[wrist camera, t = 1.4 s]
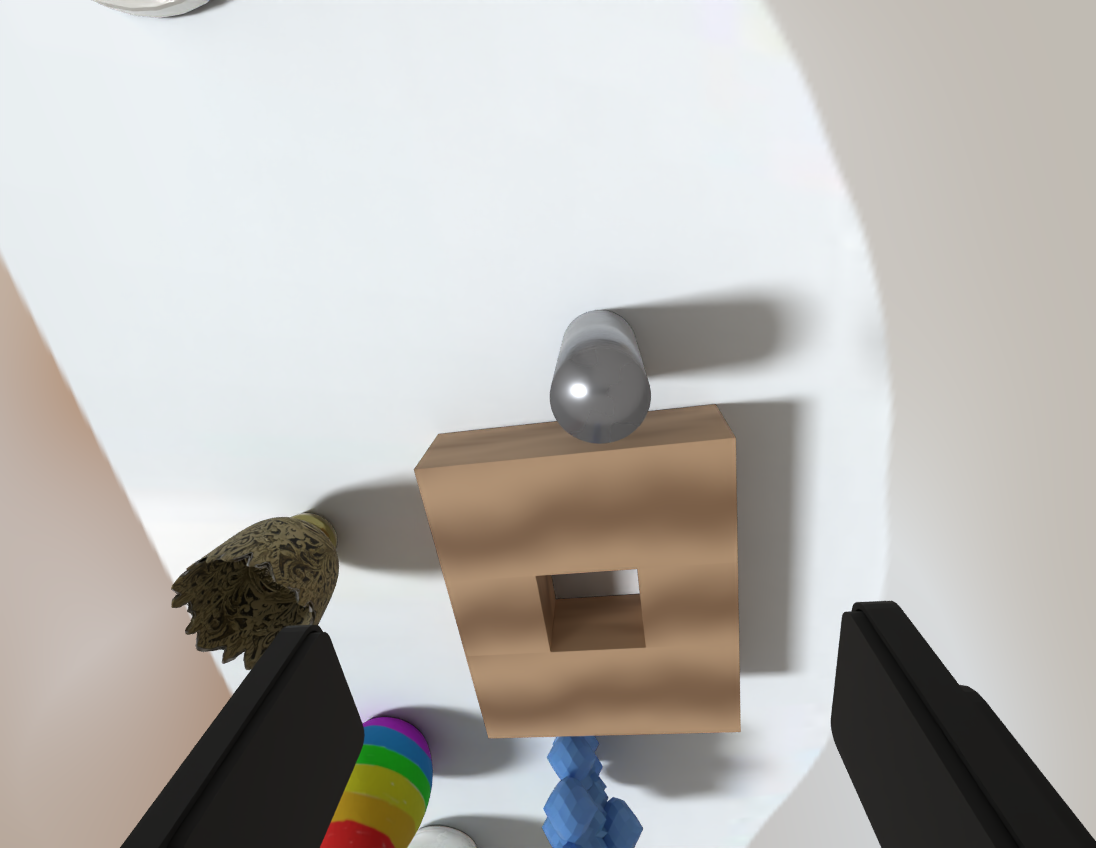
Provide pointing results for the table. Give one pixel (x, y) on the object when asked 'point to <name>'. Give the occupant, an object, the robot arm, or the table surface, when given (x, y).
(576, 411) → the steel peg
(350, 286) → the table surface
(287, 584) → the cup
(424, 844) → the lidded jar
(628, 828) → the grapes
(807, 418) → the table surface
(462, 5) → the table surface
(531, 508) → the walnut block
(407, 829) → the decorative egg
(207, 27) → the table surface
